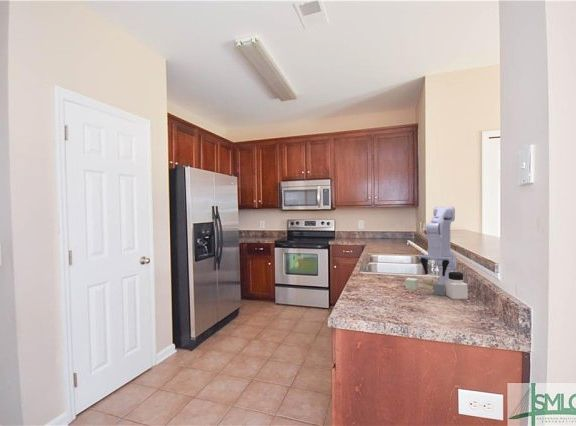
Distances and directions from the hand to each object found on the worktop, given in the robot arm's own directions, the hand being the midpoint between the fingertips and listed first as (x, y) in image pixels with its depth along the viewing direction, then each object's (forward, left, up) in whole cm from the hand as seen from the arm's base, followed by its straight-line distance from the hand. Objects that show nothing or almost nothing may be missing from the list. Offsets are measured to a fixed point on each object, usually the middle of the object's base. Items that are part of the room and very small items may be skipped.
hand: (434, 274), depth 138 cm
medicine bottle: (-2, +9, -10) cm, 14 cm away
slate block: (-3, +1, -10) cm, 11 cm away
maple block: (-11, -6, -10) cm, 16 cm away
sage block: (-6, -13, -10) cm, 17 cm away
